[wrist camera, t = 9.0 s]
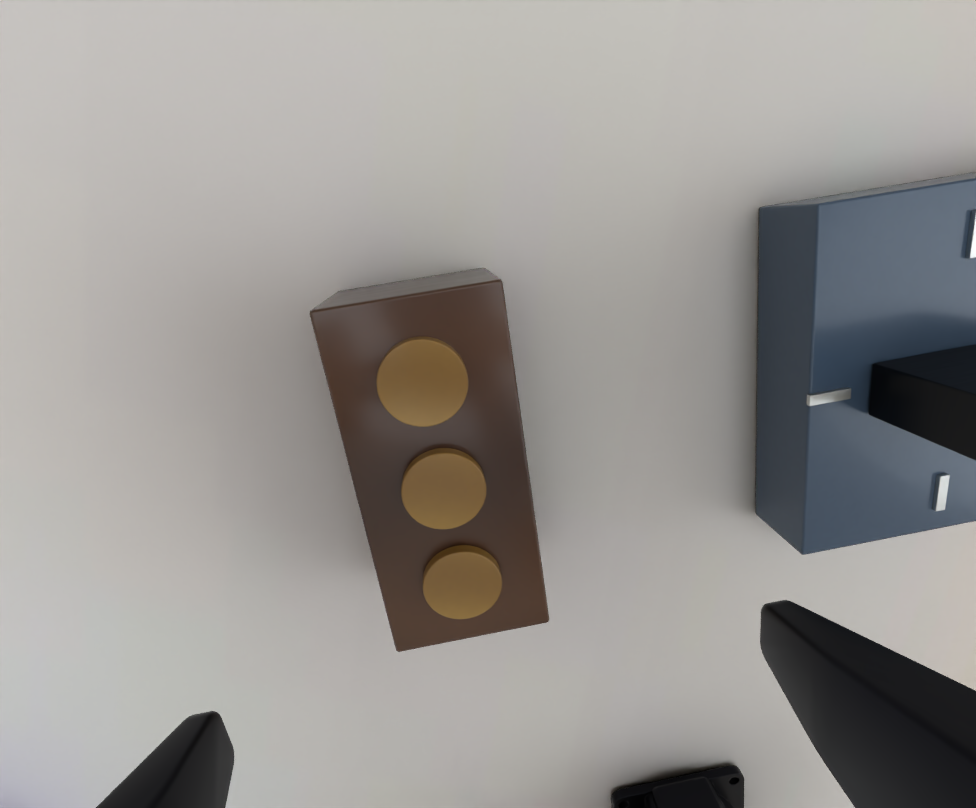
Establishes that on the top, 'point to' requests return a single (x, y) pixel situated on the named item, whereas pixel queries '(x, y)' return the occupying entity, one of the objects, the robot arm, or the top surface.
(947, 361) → the black block red tip
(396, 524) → the token holder
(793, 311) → the dial panel
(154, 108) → the top surface
